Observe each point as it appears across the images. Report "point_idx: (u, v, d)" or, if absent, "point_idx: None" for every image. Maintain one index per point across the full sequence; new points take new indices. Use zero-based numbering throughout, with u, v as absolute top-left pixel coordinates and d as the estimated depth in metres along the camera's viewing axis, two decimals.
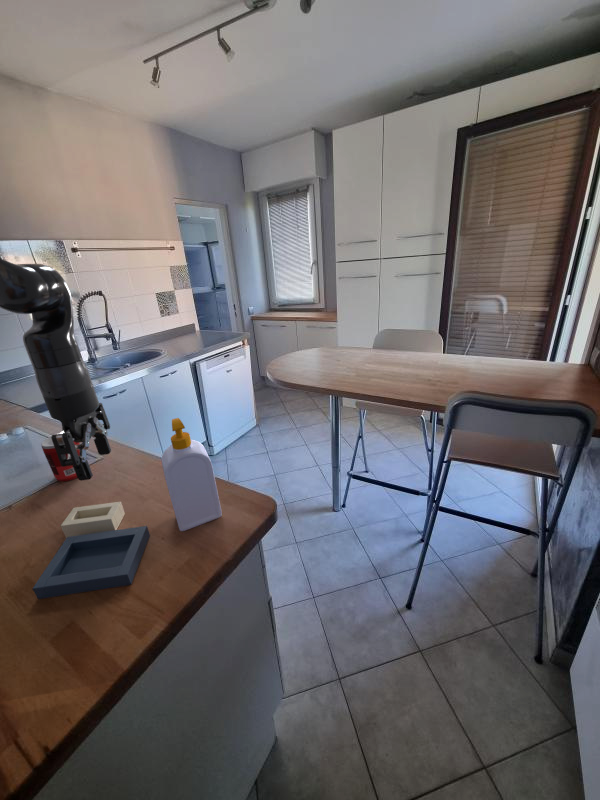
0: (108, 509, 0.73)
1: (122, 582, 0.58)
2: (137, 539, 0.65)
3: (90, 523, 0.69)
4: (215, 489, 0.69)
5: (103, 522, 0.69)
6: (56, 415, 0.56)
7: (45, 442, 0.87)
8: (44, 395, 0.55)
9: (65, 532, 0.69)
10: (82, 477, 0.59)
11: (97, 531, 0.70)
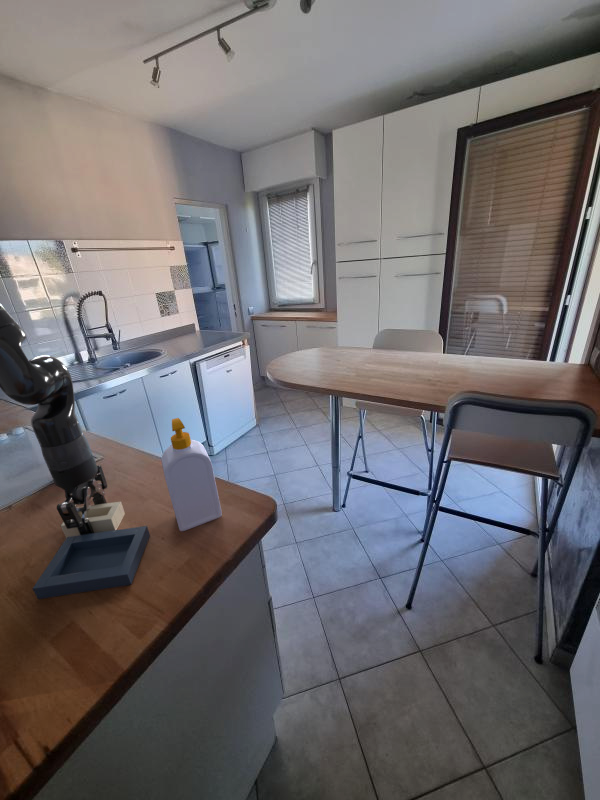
0: (108, 509, 0.73)
1: (122, 582, 0.58)
2: (137, 539, 0.65)
3: None
4: (215, 489, 0.69)
5: (103, 522, 0.69)
6: (60, 484, 0.64)
7: None
8: (49, 468, 0.63)
9: (65, 532, 0.69)
10: None
11: (97, 531, 0.70)
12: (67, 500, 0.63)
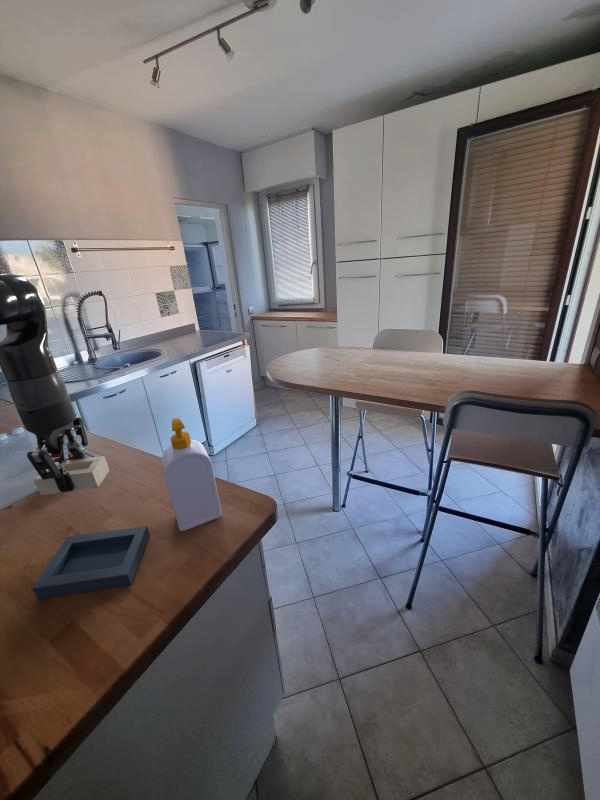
0: (90, 464, 0.64)
1: (122, 582, 0.58)
2: (137, 539, 0.65)
3: None
4: (215, 489, 0.69)
5: (83, 476, 0.60)
6: (30, 428, 0.55)
7: None
8: (17, 408, 0.54)
9: (39, 487, 0.60)
10: (63, 489, 0.59)
11: (76, 487, 0.61)
12: (39, 447, 0.55)
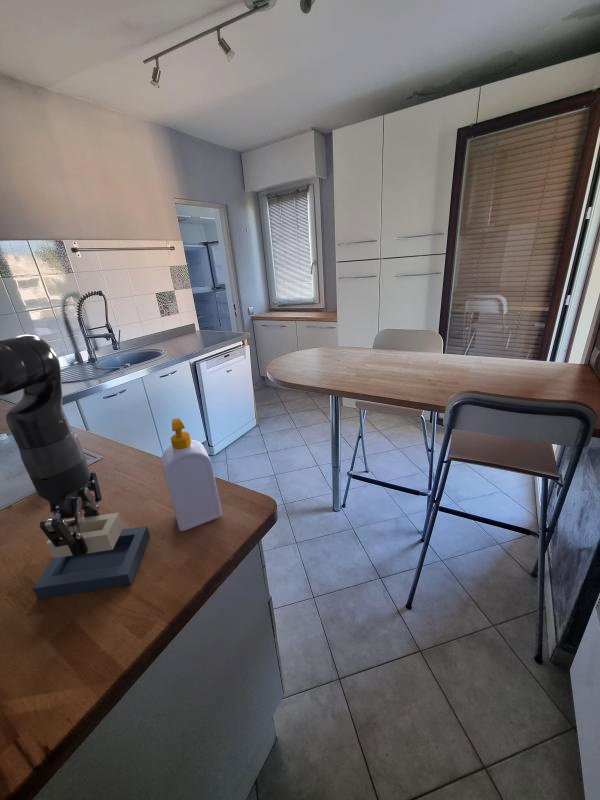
0: (104, 522, 0.61)
1: (122, 582, 0.58)
2: (137, 539, 0.65)
3: None
4: (215, 489, 0.69)
5: (97, 539, 0.57)
6: (43, 494, 0.52)
7: None
8: (30, 474, 0.51)
9: (51, 551, 0.57)
10: (77, 553, 0.57)
11: (90, 549, 0.58)
12: (52, 515, 0.52)
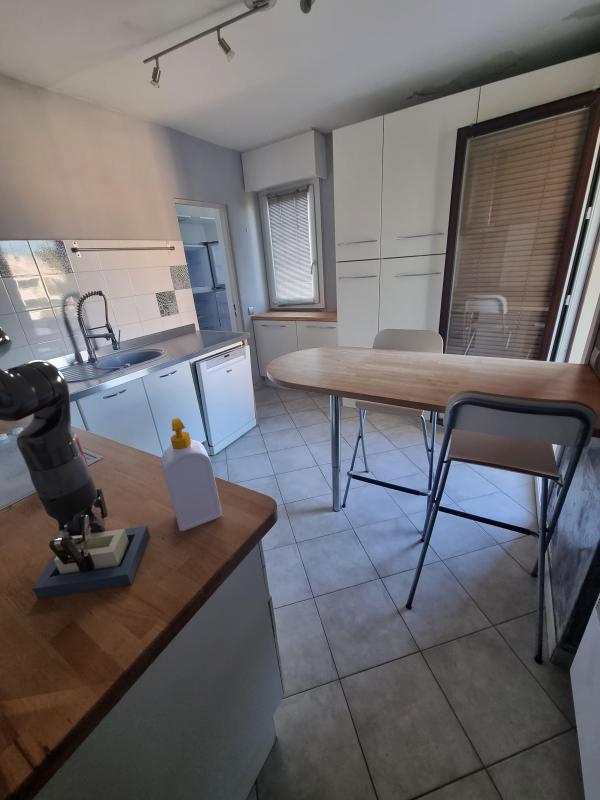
0: (110, 538, 0.63)
1: (122, 582, 0.58)
2: (137, 539, 0.65)
3: None
4: (215, 489, 0.69)
5: (104, 555, 0.59)
6: (52, 514, 0.53)
7: None
8: (39, 495, 0.52)
9: (59, 567, 0.59)
10: (84, 570, 0.58)
11: (97, 565, 0.60)
12: (61, 535, 0.53)
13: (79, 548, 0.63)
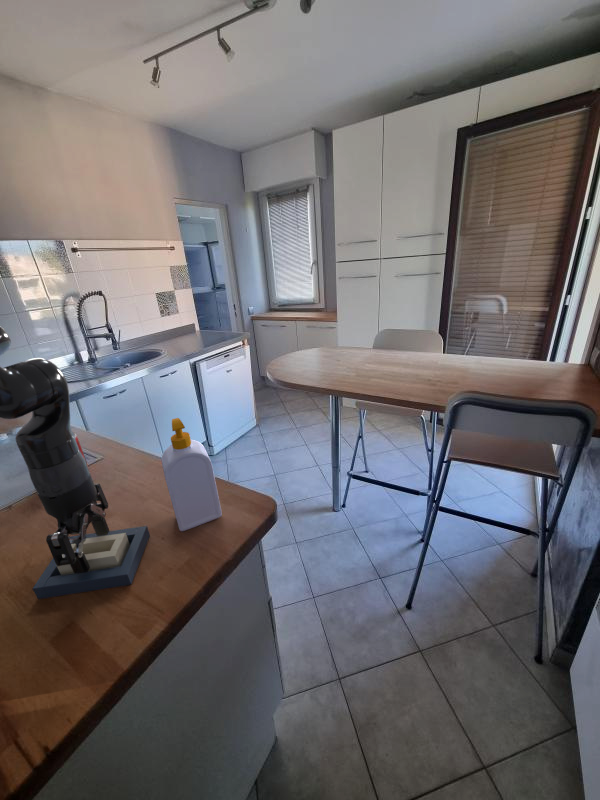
0: (111, 542, 0.63)
1: (122, 582, 0.58)
2: (137, 539, 0.65)
3: (90, 560, 0.59)
4: (215, 489, 0.69)
5: (105, 559, 0.59)
6: (51, 512, 0.53)
7: None
8: (38, 493, 0.52)
9: (61, 571, 0.59)
10: (79, 571, 0.57)
11: (98, 569, 0.60)
12: (59, 530, 0.53)
13: None
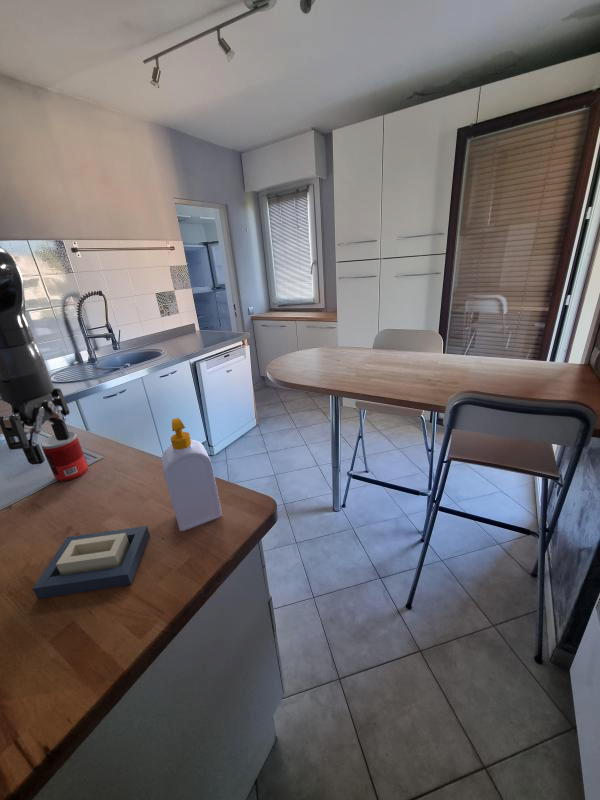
0: (111, 542, 0.63)
1: (122, 582, 0.58)
2: (137, 539, 0.65)
3: (90, 560, 0.59)
4: (215, 489, 0.69)
5: (105, 559, 0.59)
6: (5, 397, 0.56)
7: (45, 442, 0.87)
8: None
9: (61, 571, 0.59)
10: (33, 461, 0.59)
11: (98, 569, 0.60)
12: (12, 414, 0.55)
13: (81, 552, 0.63)
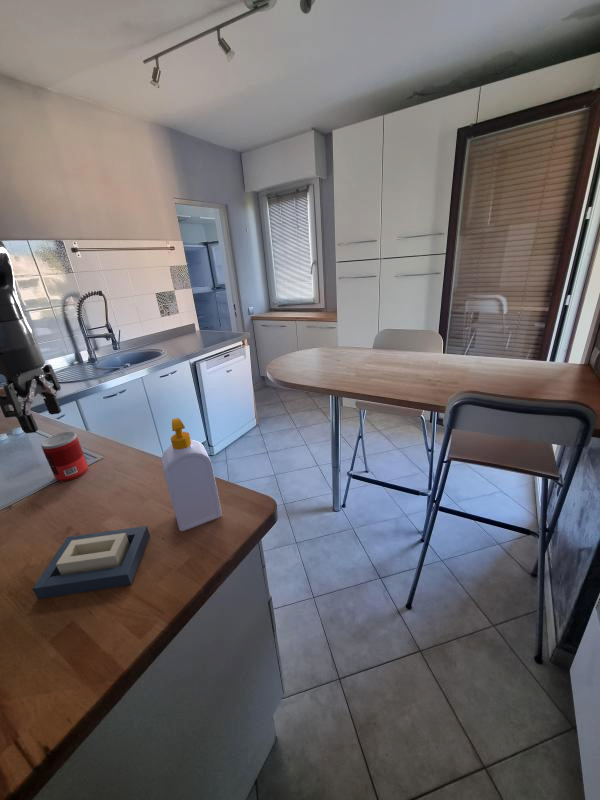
0: (111, 542, 0.63)
1: (122, 582, 0.58)
2: (137, 539, 0.65)
3: (90, 560, 0.59)
4: (215, 489, 0.69)
5: (105, 559, 0.59)
6: (0, 369, 0.60)
7: (45, 442, 0.87)
8: None
9: (61, 571, 0.59)
10: (27, 429, 0.63)
11: (98, 569, 0.60)
12: (7, 384, 0.60)
13: (81, 552, 0.63)
